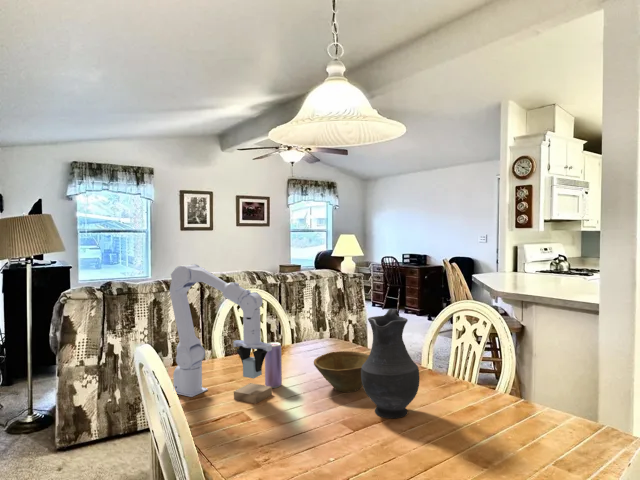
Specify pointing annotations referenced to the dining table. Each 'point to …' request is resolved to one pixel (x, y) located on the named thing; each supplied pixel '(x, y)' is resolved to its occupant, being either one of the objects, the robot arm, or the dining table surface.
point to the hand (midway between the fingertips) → (252, 370)
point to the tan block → (253, 393)
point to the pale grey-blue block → (250, 368)
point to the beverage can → (273, 366)
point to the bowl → (342, 369)
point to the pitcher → (389, 367)
